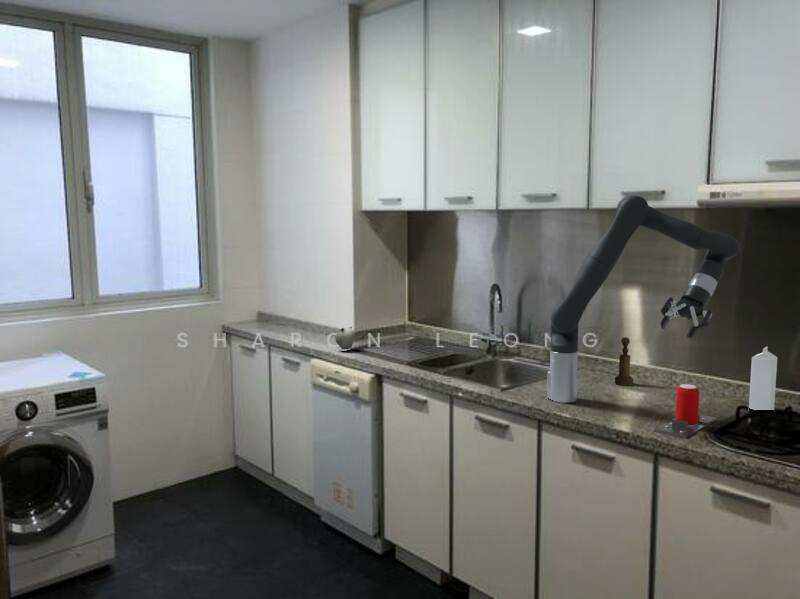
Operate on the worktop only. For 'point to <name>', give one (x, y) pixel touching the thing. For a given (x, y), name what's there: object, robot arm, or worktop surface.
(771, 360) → the milk
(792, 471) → the worktop surface
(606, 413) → the worktop surface
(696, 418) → the beverage can
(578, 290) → the robot arm
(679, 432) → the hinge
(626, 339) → the brown wooden figurine
